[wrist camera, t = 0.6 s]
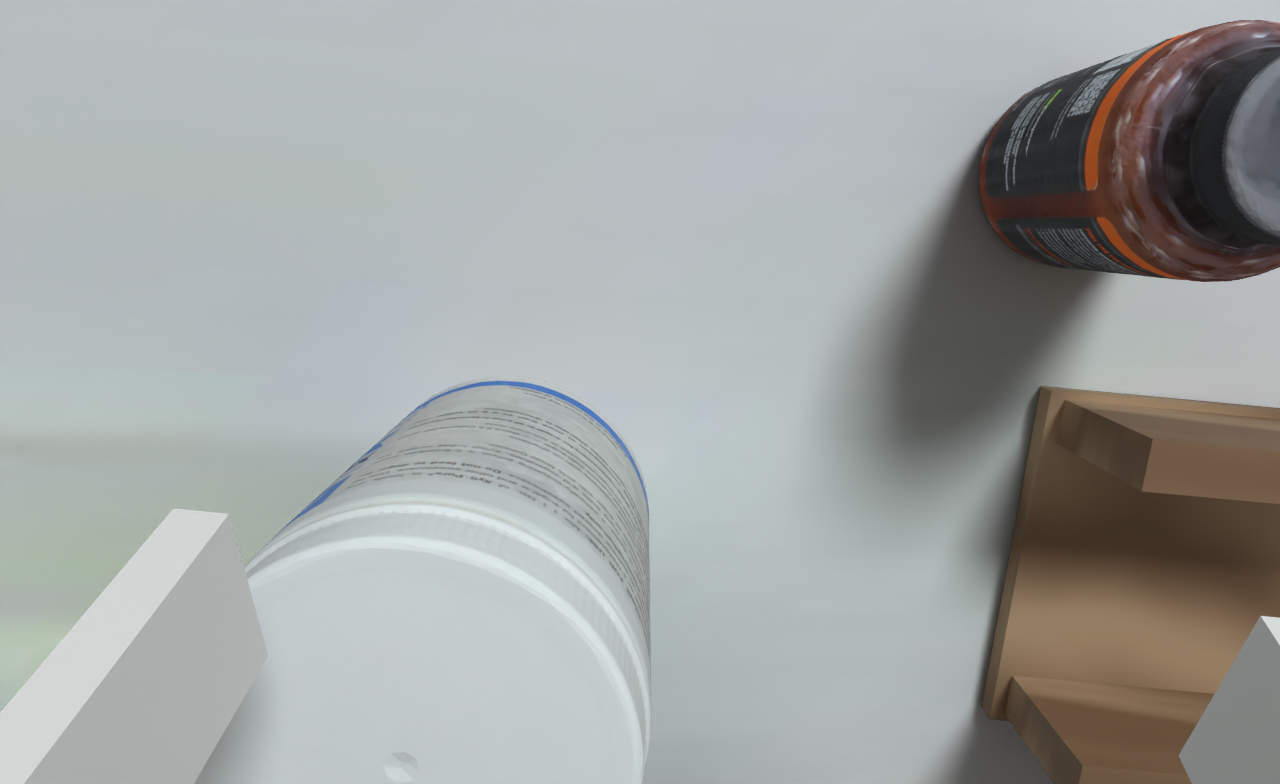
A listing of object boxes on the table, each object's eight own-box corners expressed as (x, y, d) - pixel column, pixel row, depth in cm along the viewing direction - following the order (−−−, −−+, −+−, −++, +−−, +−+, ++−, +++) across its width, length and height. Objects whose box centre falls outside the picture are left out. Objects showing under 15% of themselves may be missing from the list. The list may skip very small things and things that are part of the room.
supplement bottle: (1140, 271, 29) (1442, 306, 18) (960, 261, 29) (1151, 290, 18) (1172, 81, 28) (1515, -5, 17) (984, 70, 28) (1204, -23, 17)
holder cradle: (1278, 733, 32) (1418, 848, 27) (981, 706, 32) (1055, 816, 26) (1362, 416, 30) (1535, 465, 24) (1041, 386, 30) (1136, 428, 24)
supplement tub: (379, 362, 30) (132, 500, 16) (658, 379, 30) (668, 532, 16) (380, 626, 32) (159, 965, 18) (642, 642, 32) (636, 994, 18)
